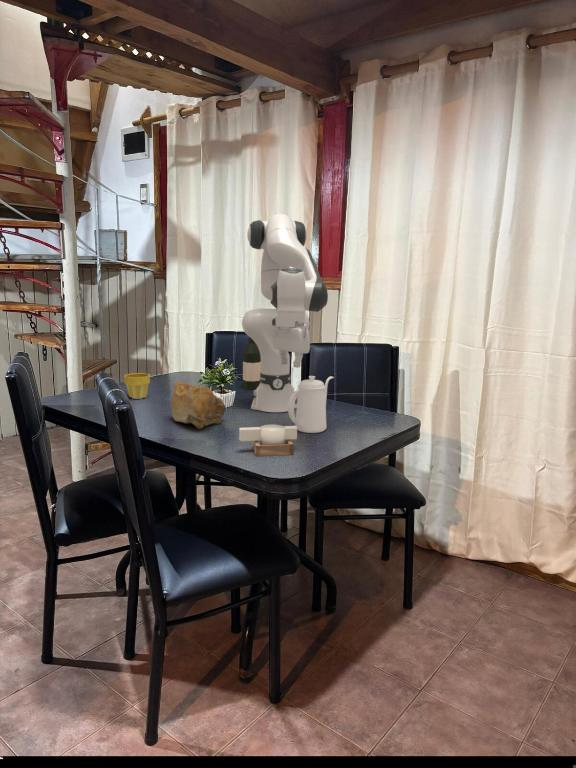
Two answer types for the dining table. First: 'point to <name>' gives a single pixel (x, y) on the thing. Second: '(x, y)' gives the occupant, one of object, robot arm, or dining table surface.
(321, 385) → the coffeepot
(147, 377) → the plant pot
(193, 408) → the rough brown rock
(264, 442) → the white bar with bulge
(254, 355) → the wine bottle
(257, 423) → the dining table surface
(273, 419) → the dining table surface
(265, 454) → the cradle
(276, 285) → the robot arm
